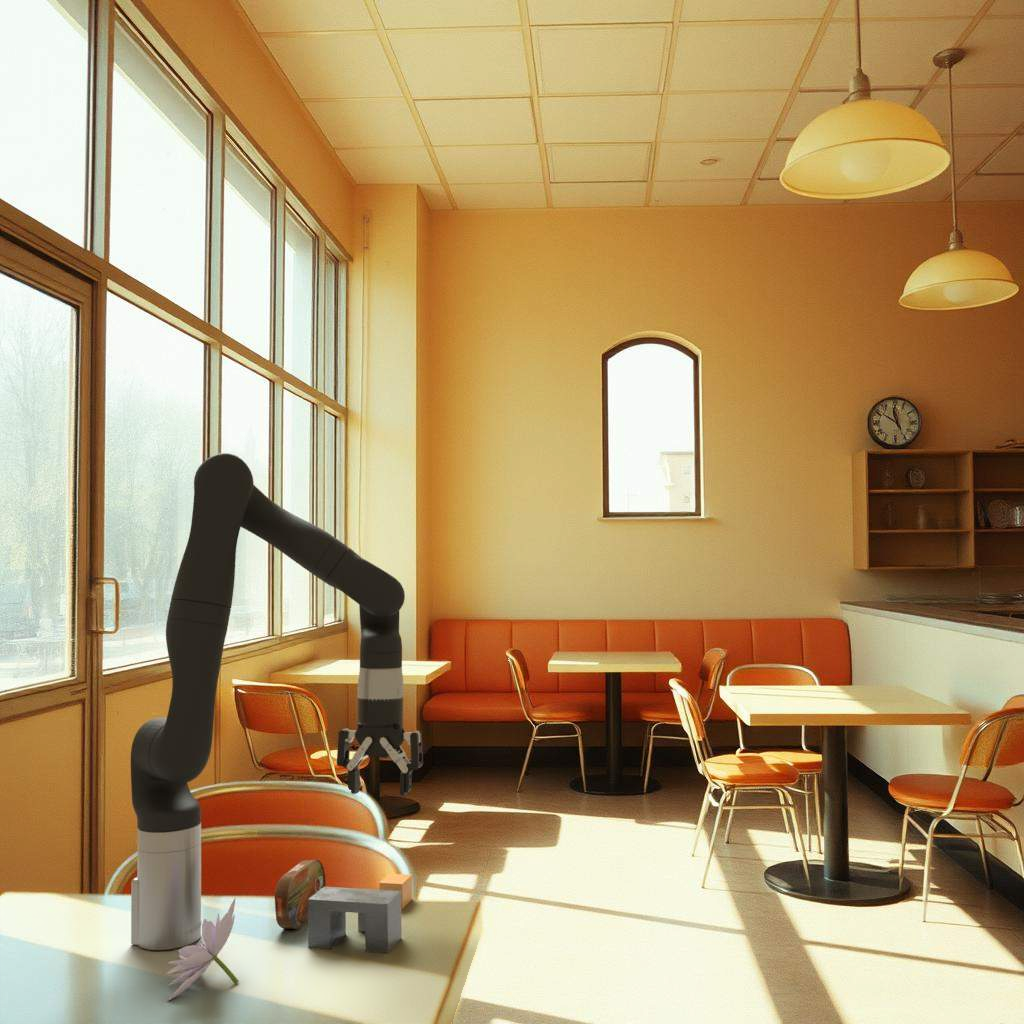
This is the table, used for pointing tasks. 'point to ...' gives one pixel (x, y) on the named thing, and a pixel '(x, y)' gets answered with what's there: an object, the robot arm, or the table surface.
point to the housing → (335, 902)
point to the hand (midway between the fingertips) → (379, 794)
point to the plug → (395, 884)
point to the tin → (297, 893)
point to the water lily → (204, 952)
